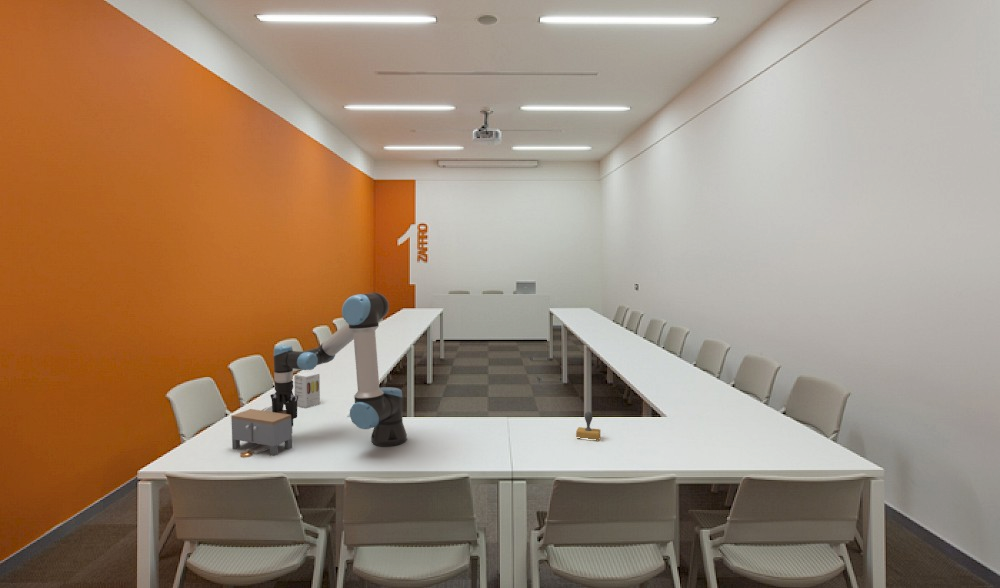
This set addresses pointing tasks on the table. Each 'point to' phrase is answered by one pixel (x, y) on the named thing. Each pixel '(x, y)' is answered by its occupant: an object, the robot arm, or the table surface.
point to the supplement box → (307, 389)
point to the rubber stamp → (588, 429)
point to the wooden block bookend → (262, 447)
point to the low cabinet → (262, 429)
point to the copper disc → (246, 454)
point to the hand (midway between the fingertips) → (285, 433)
